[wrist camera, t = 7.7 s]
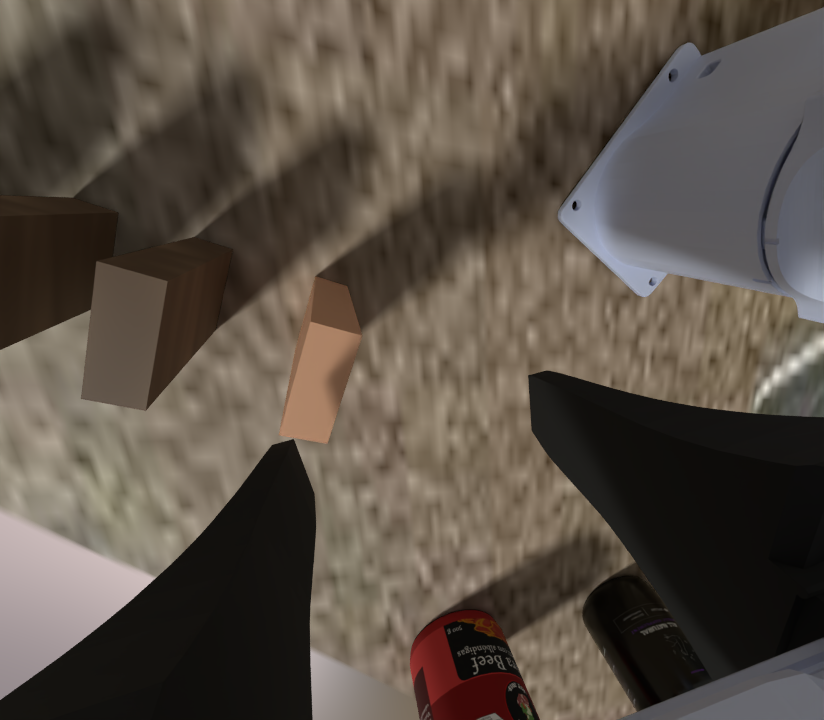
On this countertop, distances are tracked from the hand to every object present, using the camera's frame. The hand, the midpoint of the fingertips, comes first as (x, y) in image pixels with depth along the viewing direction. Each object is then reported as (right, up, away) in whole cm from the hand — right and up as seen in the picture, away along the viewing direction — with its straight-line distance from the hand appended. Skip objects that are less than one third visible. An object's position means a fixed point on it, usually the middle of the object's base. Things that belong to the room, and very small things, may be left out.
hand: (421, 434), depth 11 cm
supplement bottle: (+18, -19, +23) cm, 35 cm away
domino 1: (-14, +7, +5) cm, 16 cm away
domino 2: (-10, +6, +6) cm, 13 cm away
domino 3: (-5, +4, +8) cm, 10 cm away
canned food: (+3, -21, +20) cm, 29 cm away
